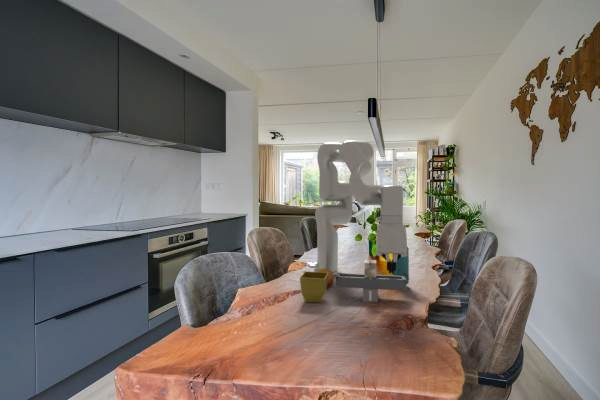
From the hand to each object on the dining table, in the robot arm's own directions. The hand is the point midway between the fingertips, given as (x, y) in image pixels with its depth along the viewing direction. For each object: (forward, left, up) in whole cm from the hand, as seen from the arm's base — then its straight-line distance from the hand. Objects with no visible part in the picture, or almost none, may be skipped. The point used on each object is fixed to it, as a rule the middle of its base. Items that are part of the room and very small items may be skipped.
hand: (391, 272), depth 121 cm
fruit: (-25, +11, -10) cm, 29 cm away
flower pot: (-26, -7, -10) cm, 29 cm away
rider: (-7, 0, -3) cm, 8 cm away
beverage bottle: (+5, +17, -10) cm, 20 cm away
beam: (-7, 0, -9) cm, 12 cm away
